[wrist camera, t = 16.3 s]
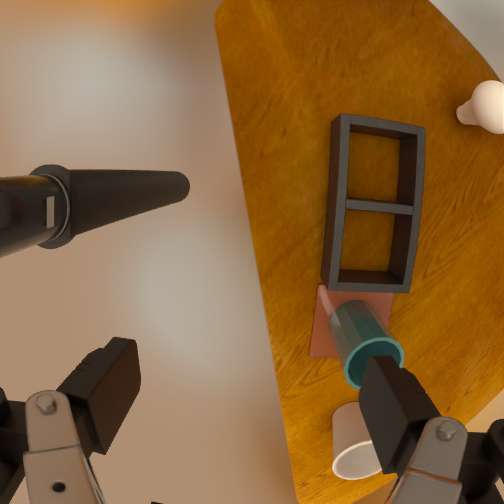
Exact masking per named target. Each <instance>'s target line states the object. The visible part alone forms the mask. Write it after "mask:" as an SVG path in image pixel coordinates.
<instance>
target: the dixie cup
mask: <svg viewBox="0 0 504 504" xmlns="http://www.w3.org/2000/svg"><path fill="white" fill-rule="evenodd" d="M332 423H333V450H334V462H333V465H332V469H333V472H334V473H335V474H336V475H337V476H338V477H340V478H343V479H350V480H355V479H362V478H366V477H369V476H372V475H374V474H376V473H378V472H380V471H381V470H382V469H381V466H380V463H379V460H378V457H377V455H376V452H375V449H374V446H373V443H372V440H371V438H370V435H369V432H368V429H367V427H366V424H365V421H364V419H363V416H362V413H361V410H360V408H359V402H351V403H347V404H344V405H342V406H341V407H339V408H338V409H337V410H336V411H335V412H334V414H333V417H332Z"/></svg>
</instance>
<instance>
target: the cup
mask: <svg viewBox="0 0 504 504" xmlns="http://www.w3.org/2000/svg"><path fill="white" fill-rule="evenodd" d="M328 329H329V333H330V336H331V339H332V342H333V345H334V348H335V351H336V353H337V356H338V359H339V362H340V365H341V367H342V370H343V373H344V376H345V379H346V381H347V382H348V383H349V384H350V385H351V386H352V387H353V388H356V389H359V390H360V388H361V384H362V381H363V377H364V373H365V369H366V365H367V362H368V359H369V357H370V356H375V355H392V356H393V358H394V359H395V361H396V362H397V364H398V365H399V367H400V368H402V366H403V363H404V359H405V358H404V351H403V348H402V347H401V345H400V344H399V343H398V341H397V340H396V338H395V337H394V336H393V334H392V333H391V332H390V330H389V329H388V327H387V326H386V325H385V323H384V322H383V321H382V319H381V318H380V317H379V315H378V314H377V313H376V311H375V310H374V309H373V308H372V306H371V305H369V304H368V303H366V302H364V301H360V300H353V301H348V302H346V303H343V304H342V305H340V306H339V307H338V308H337V309H336V310H335V311H334V312H333V313H332V315H331V317H330V319H329V324H328Z"/></svg>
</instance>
